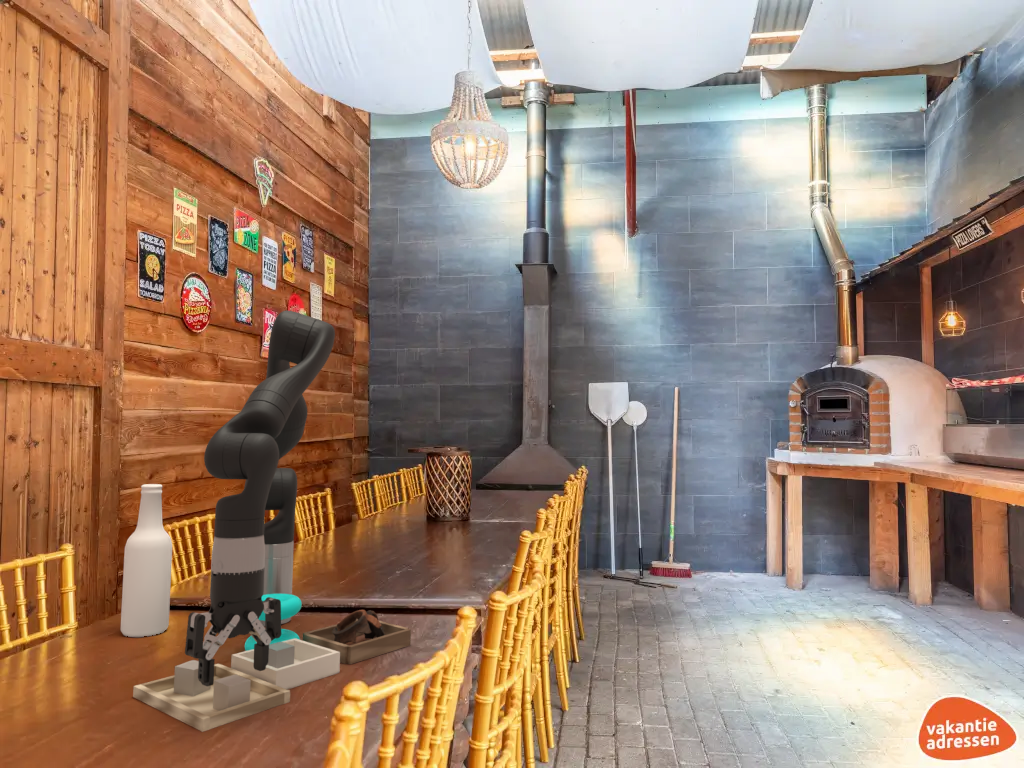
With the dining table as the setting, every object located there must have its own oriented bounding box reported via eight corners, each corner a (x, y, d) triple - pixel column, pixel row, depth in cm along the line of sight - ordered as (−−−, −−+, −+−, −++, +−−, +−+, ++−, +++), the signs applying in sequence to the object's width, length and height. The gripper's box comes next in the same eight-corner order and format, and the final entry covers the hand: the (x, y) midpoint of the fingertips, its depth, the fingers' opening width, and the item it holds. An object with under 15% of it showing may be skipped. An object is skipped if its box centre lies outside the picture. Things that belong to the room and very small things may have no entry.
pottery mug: (385, 659, 133) (364, 623, 131) (342, 679, 134) (320, 643, 133) (398, 625, 145) (379, 591, 143) (358, 644, 146) (338, 610, 144)
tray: (132, 700, 109) (133, 686, 110) (217, 676, 121) (218, 663, 121) (202, 735, 97) (203, 719, 98) (289, 705, 108) (290, 690, 109)
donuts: (305, 601, 133) (247, 606, 129) (303, 656, 132) (245, 662, 128) (298, 590, 142) (245, 594, 138) (296, 641, 141) (243, 647, 137)
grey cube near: (212, 708, 106) (213, 680, 106) (234, 701, 108) (235, 674, 109) (227, 715, 103) (228, 686, 103) (249, 707, 106) (250, 680, 106)
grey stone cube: (173, 692, 111) (174, 666, 112) (191, 685, 115) (192, 659, 115) (193, 696, 110) (194, 669, 110) (210, 689, 113) (211, 663, 113)
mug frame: (300, 649, 136) (300, 633, 136) (364, 631, 149) (364, 617, 149) (348, 665, 128) (348, 647, 128) (412, 644, 140) (412, 629, 141)
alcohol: (126, 640, 140) (134, 486, 142) (115, 630, 147) (123, 484, 149) (174, 632, 146) (180, 485, 148) (161, 623, 153) (168, 482, 155)
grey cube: (262, 670, 122) (263, 646, 122) (280, 664, 125) (280, 641, 125) (275, 675, 119) (276, 650, 120) (293, 669, 122) (294, 646, 123)
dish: (230, 679, 120) (231, 654, 120) (294, 660, 130) (295, 638, 130) (275, 697, 112) (276, 670, 112) (339, 675, 122) (340, 652, 122)
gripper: (265, 557, 115) (261, 660, 114) (179, 569, 104) (174, 684, 102) (293, 562, 110) (290, 670, 109) (207, 576, 99) (202, 696, 98)
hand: (233, 677), depth 106 cm, fingers open, 8 cm apart
